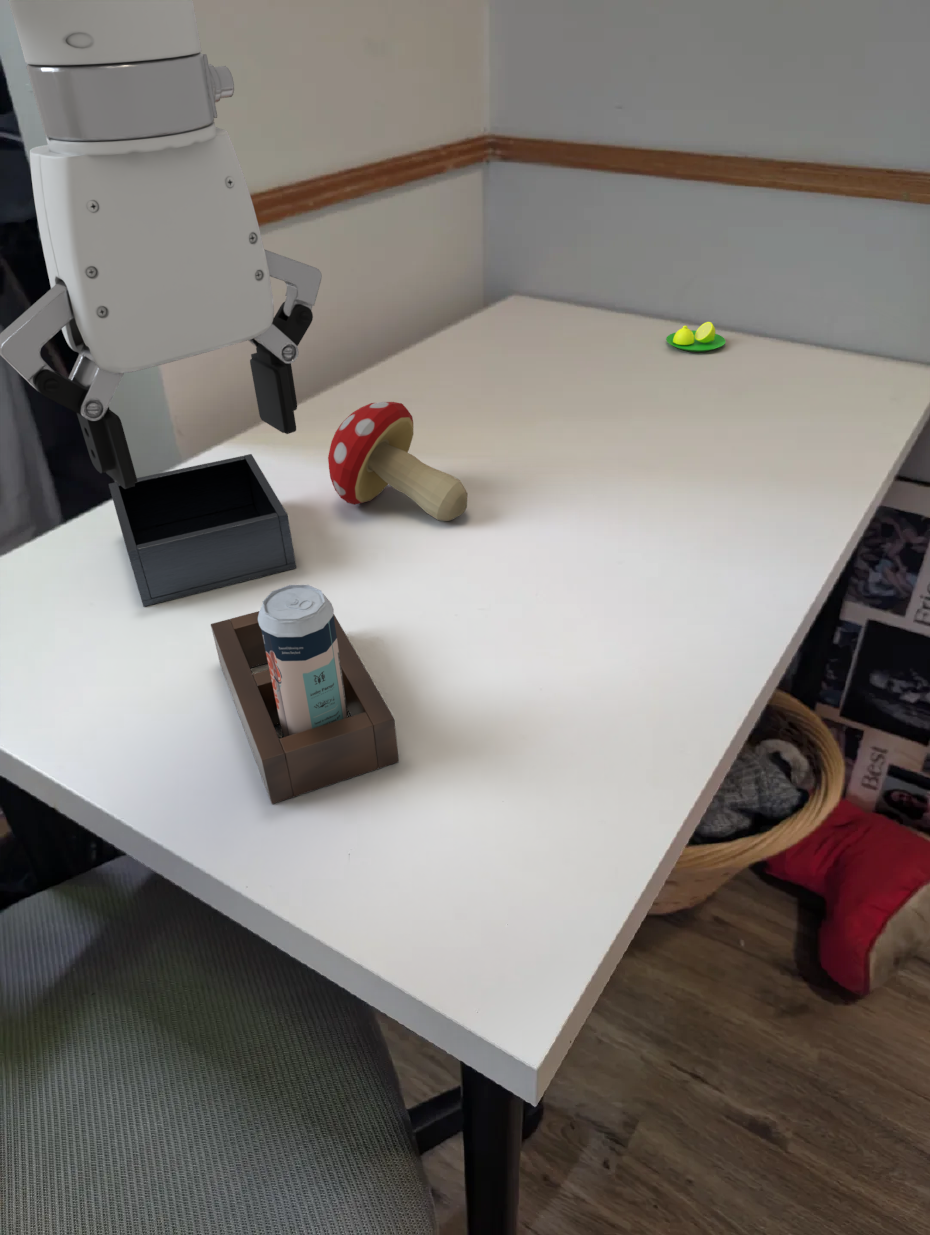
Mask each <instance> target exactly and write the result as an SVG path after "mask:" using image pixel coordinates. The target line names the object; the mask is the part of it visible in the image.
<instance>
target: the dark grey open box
mask: <svg viewBox="0 0 930 1235" xmlns="http://www.w3.org/2000/svg"><path fill="white" fill-rule="evenodd" d="M108 488H109V491H110V494H111V499H112V502H113V505H114V509H115V512H116V516H117V519H118V523H119V527H120V531H121V533H122V534H121V535H122V538H123V542H124V545H125V548H126V551H127V555H128V559H129V563H130V566H131V569H132V572H133V576H134V580H135V583H136V587H137V589H138V593H139V597H140V600H141V603H142V607H148V606H152V605H156V604H160V603H165V602H169V601H171V600H176V599H180V598H184V597H187V596H193V595H195V594H199V593H203V592H207V591H212V590H216V589H219V588H224V587H227V586H231V585H236V584H240V583H244V582H248V581H252V580H254V579H258V578H259V579H260V578H263V577H267V576H271V575H275V574H279V573H282V572H287V571H290V570H294V569H297V563H296V556H295V550H294V545H293V538H292V533H291V527H290V521H289V516H288V512H287V511H286V509H285V508H284V506H283V504H282V503H281V501H280V499H279V498H278V496H277V494H276V493H275V491H274V489H273V488H272V485H271V484H270V482H269V481H268V479H267V477H266V476H265V474H264V472H263V470H262V469H261V467H260V466H259V464H258V462H257V460H256V459H255V457H254V456H253V454H252V453H248V454H244V455H239V456H236V457H231V458H226V459H222V460H221V459H220V460H217V461H212V462H206V463H202V464H197V465H193V466H187V467H182V468H179V469H174V470H169V471H164V472H161V473H155V474H149V475H146V476H141V477H137V483H135V486H133V487H130V488H127V489H124V488H123V487H122V486H121V485H119V484H118V483H117V482H116V481H114V482H111V483H108Z"/></svg>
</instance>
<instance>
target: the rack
mask: <svg viewBox="0 0 930 1235" xmlns="http://www.w3.org/2000/svg"><path fill="white" fill-rule="evenodd" d="M259 611H260V610H259ZM259 611H253V612H251V613H247V614H243V615H239V616H237V617H236V616H235V617H231V618H228V619H223V620H221V621H217V622H213V623H211V624H210V627H211V632H212V637H213V641H214V645H215V649H216V652H217V653H216V654H217V657H218V661H219V665H220V668H221V671H222V673H223V676H224V679H225V681H226V684H227V687H228V689H229V692H230V695H231V698H232V701H233V703H234V707H235V709H236V711H237V712H236V713H237V714H238V717H239V719H240V723H241V725H242V728H243V731H244V734H245V736H246V739H247V741H248V744H249V747H250V749H251V753H252V755H253V758H254V760H255V763H256V766H257V769H258V771H259V774H260V776H261V780H262V782H263V785H264V788H265V790H266V793H267V795H268V799H269V801H270V804H271V805H274V804H277V803H280V802H283V801H286V800H289V799H293V798H294V797H298V796H301V795H304V794H307V793H310V792H313V791H316V790H319V789H322V788H325V787H328V786H331V785H334V784H337V783H340V782H343V781H347V780H349V779H352V778H355V777H358V776H361V775H364V774H368V773H370V772H374V771H376V770H379V769H383V768H385V767H388V766H391V765H393V764H397V763H399V762H400V761H399V760H400V759H399V750H398V742H397V741H398V739H397V730H396V722H395V717H394V715H393V714H392V712H391V710H390V709H389V707H388V705H387V703H386V702H385V700H384V698H383V697H382V695H381V693H380V691H379V689H378V688H377V686H376V684H375V682H374V681H373V679H372V677H371V676H370V674H369V671H368V670H367V669H366V667H365V665H364V663H363V661H362V660H361V658H360V657H359V655H358V653H357V652H356V650H355V648H354V646H353V645H352V643H351V641H350V639H349V637H348V636H347V634H346V631H344V629H343V627H342V625H341V623H340V622H339V620H338V618H337V617H336V615H335V614H334V621H335V628H336V635H337V642H338V649H339V656H340V663H341V670H342V677H343V684H344V691H345V698H346V705H347V712H348V714H349V715H350V716H348V718H345V719H341V720H338V721H335V722H332V723H328V724H325V725H322V726H319V727H316V728H312V729H309V730H306V731H303V732H300V733H296V734H293V735H290V736H287V737H283V736H282V737H279V735H278V733H277V730H276V728H275V726H278V725H281V724H280V719H279V715H278V710H277V705H276V700H275V695H274V690H273V685H272V680H271V675H270V670H269V668H268V669H265V670H260V671H258V672H254V673H253V672H252V668H256V667H259V666H262V665H266V664H268V660H267V655H266V650H265V645H264V640H263V635H262V631H261V628H260V626H259V623H258V615H259Z"/></svg>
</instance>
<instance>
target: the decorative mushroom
mask: <svg viewBox="0 0 930 1235" xmlns="http://www.w3.org/2000/svg"><path fill="white" fill-rule="evenodd" d="M413 438H414V419H413V415H412V414H411V413H410V410H408V408H407V407H406V406H405V405H404V404H403V403H401V402H397V401H379V402H370V403H367V404H365V405H363V406H361V407H359V408H357V409H356V410H354V411H353V412H352V413H350V414H349V415H348V416H347V417H346V418H345V419H344V420H343V421H342V422H341V423H340V425H339V426H338V428H337V429H336V430H335V432H334V435H333V437H332V439H331V442H330V446H329V450H328V456H327V461H328V471H329V478H330V481H331V484H332V486H333V489H334V491H335V492H336V494H337V495H338V496H339V497H340V498H341V499H342V501H344V502H346V503H347V504H350V505H360V504H363V503H367V502H370V501H372V500H374V499H375V498H376V497H377V496H378V495H380V494H381V493H382V492H383V491H384V490H385V489H386V488H387V486H388V485H389V486H390V487H391V488H392V489H394V490H396V491H398V492H400V493H402V494H404V495H405V496H407V497H408V498H409V499H411V500H412V501H413V502H415V504H416V505H418V506H419V507H420V508H421V510H423V511H424V512H425V513H426V514H427V515H429V516H431V517H432V518H434V519H435V520H437V521H442V522H443V521H444V522H450V521H453V520H454V519H455V520H456V519H457V518H458V517H460V516H462V515H463V514H464V513H465V511H466V509H467V507H468V491H467V488H466V487H465V485H464V483H463V482H462V481H461V480H460V479H458V478H457V477H455V476H453V475H452V474H450V473H447V472H445V471H442V470H439V469H437V468H435V467H432V466H430V465H428V464H426V463H424V462H423V461H422V460H420V459H419V458H417V457H416V456H415V455H413V454H411V453H410V452H409V451H410V448H411V445H412V441H413Z"/></svg>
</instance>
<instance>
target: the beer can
mask: <svg viewBox="0 0 930 1235" xmlns="http://www.w3.org/2000/svg"><path fill="white" fill-rule="evenodd" d="M261 604H262V605H261V607H260V609H259V615H258V623H259V626H260V628H261V631H262V635H263V640H264V645H265V650H266V655H267V660H268V663H267V664H268V669H269V670H270V675H271V680H272V685H273V690H274V695H275V700H276V705H277V710H278V715H279V719H280V724H279V725H280V729H281V733H282V738H283V737H287V736H290V735H293V734H296V733H300V732H303V731H306V730H309V729H312V728H316V727H319V726H322V725H325V724H328V723H332V722H335V721H338V720H341V719H345V718H348V717H349V711H348V709H347V705H346V698H345V691H344V684H343V677H342V670H341V663H340V656H339V649H338V642H337V635H336V628H335V621H334V615H335V612H334V611H335V610H334V606H333V604H332V602H331V601H330V600H329V598H328V597H327V596H326V595H325V594H324V593H323V590H322V589H319V588H317V587H314V586H312V585H310V584H288V585H285V586H282V587H280V588H277V589H274V590H272V591H270V593H269V594H268V595H267V596H266V597H265V598H264V600H263V601H262V603H261Z"/></svg>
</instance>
